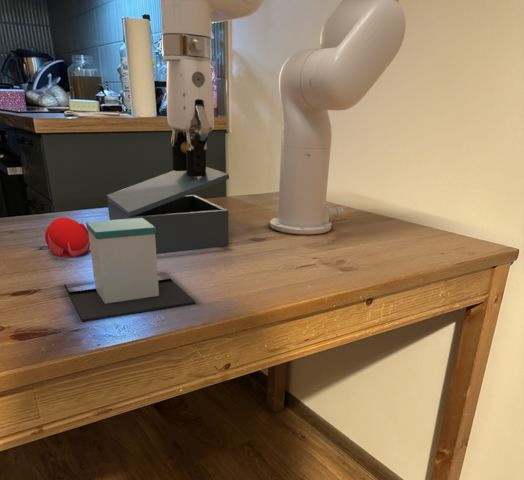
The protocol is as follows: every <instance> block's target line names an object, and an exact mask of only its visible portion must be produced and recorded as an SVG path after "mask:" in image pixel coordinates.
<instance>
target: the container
mask: <svg viewBox="0 0 524 480" xmlns="http://www.w3.org/2000/svg"><path fill="white" fill-rule="evenodd" d="M85 224H86V226H85V227H86V228H87V230H88V234H89V242H90V249H89V250H90V256H91V257H90V258H91V264H92V273H93V279H94V287H95V289H96V291H97V292H98V294H99V295H100V297H101V298H102V300H103V301H104V303H105V304H107V303H114V302H120V301H127V300H134V299H141V298H148V297H154V296H159V286H158V280H159V274H158V273H159V272H158V259H157V258H158V257H157V254H156V242H155V234H156V227H154V226H153V225H152V224H150V223H149V222H148V221H146V220H145V219H143V218H132V219H119V220H110V219H108V220H94V221H86V222H85Z"/></svg>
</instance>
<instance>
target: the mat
mask: <svg viewBox="0 0 524 480" xmlns="http://www.w3.org/2000/svg"><path fill="white" fill-rule="evenodd" d="M158 286H159V296H154V297H148V298H141V299H134V300H127V301H120V302H114V303H107V304H105V303H104V301H103V300H102V298H101V297H100V295H99V294H98V292H97V291H96V288H90V289H89V288H88V289H82V290H75V291H70V290H69V289H68V287H67V285H66V284H63V287H64V289H65V290H66V292H67V295H68V297H69V298H70V300H71V302H72V305H73V306H74V308H75V310H76V312H77V314H78V316H79V318H80V320H81V322H82V323H83V322H89V321H96V320H103V319H109V318H114V317H115V318H116V317H120V316H121V317H122V316H127V315H133V314H139V313H146V312H151V311H157V310H158V311H159V310H165V309H171V308H178V307H183V306H189V305H196V300H194V299H193V298H192V297H191V296H190V295H189V294H188V293H187V292H186V291H185V290H183V288H181V287H180V286H179V285H178V284H177V283H176V282H175V281H174V280H173V279H172V278H165V279H158Z"/></svg>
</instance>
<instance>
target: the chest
mask: <svg viewBox="0 0 524 480" xmlns="http://www.w3.org/2000/svg"><path fill="white" fill-rule="evenodd" d="M107 208H108V209H107V210H108V220H119V219H132V218H143V219H145V220H146V221H148V222H149V223H150V224H152V225H153V226H154V227H156V234H155V242H156V255H157V254H167V253H177V252H185V251H186V252H187V251H194V250H195V251H196V250H203V249H213V248H223V247H228V246H229V209H226V208H224V207H222V206H220V205H218V204H216V203H214V202H212V201H209V200H207V199H205V198H202V197H200V196H199V195H197V194H189V195H186V196H184V197H181V198H179V199H176V200H173V201H171V202H168V203H166V204H163V205H161V206H158V207H155V208H153V209H150V210H148V211H145V212H143V213H140V214H137V215H135V216H132V217H130V216H129V215H127V214H126V213H125V212H123V211H122V210H121V209H120V208H118V207H117V206H116V205H114V204H113V203H112V202H111V201H109V200H108V199H107Z"/></svg>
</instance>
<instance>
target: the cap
mask: <svg viewBox="0 0 524 480" xmlns="http://www.w3.org/2000/svg"><path fill="white" fill-rule="evenodd" d="M44 239H45V243H46V245H47V246H48V248H49V249H50V251H51V253H52V254H54V255H55V256H58V257H64V258H74V257H79V256H83V255H85V254H87V253H88V250H91V249H90V242H89V234H88V229H87V226H85V224H84V223H82V222H79V221H77V220H75V219H73V218H70V217H66V216H61V217H60V216H59V217H57V218H55V219H53V220H51V222H50V224H48V226H47V228H46V230H45V232H44ZM64 250H66V251H68V253H64Z"/></svg>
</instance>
